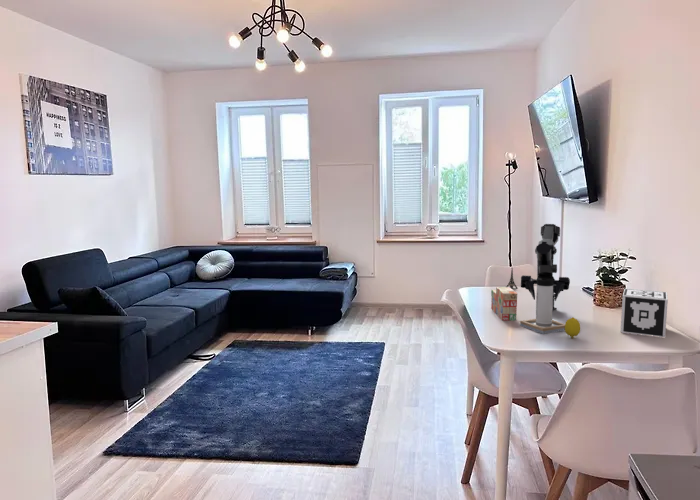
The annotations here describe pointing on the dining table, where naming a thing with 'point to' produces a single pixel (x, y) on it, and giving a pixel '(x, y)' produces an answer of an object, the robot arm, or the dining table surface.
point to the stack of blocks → (504, 303)
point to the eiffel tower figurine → (511, 281)
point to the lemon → (572, 327)
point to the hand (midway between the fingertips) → (544, 299)
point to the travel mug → (544, 301)
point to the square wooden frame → (532, 325)
